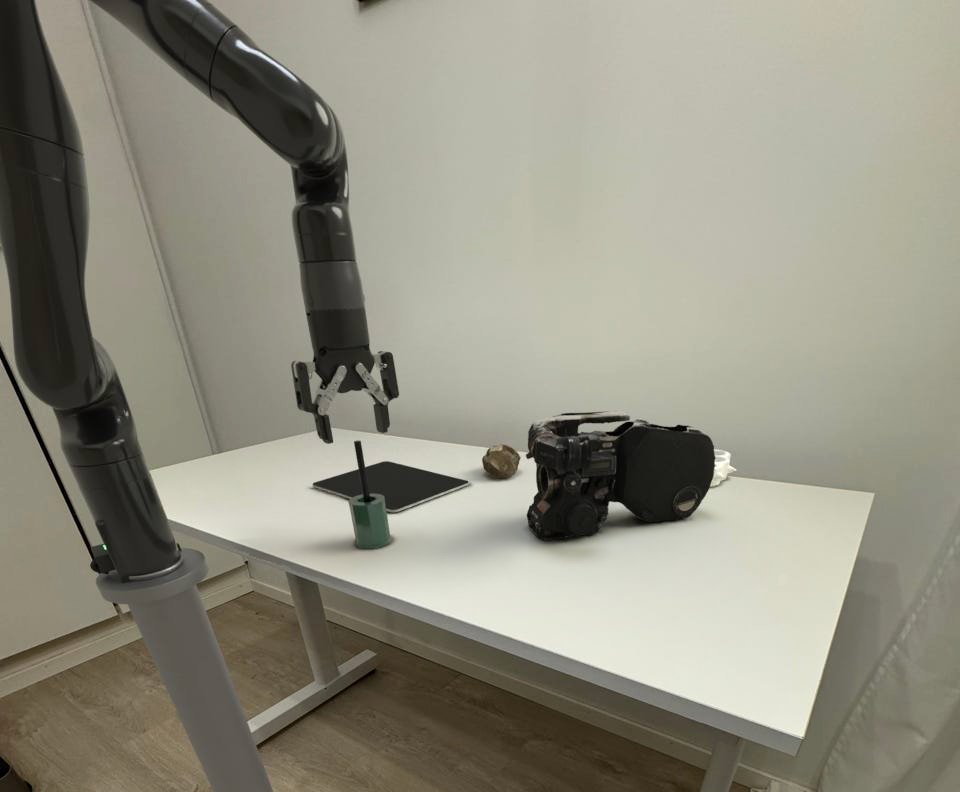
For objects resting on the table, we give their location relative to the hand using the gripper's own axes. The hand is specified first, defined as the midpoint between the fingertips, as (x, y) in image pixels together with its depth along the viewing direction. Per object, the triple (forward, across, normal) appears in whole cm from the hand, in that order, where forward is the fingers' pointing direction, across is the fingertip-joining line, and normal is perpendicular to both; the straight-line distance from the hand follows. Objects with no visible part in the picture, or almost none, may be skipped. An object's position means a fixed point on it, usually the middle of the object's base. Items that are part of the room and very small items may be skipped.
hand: (355, 437), depth 79 cm
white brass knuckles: (+16, -61, +15) cm, 65 cm away
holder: (+16, 0, 0) cm, 16 cm away
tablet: (+16, -16, -24) cm, 33 cm away
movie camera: (+16, -31, +21) cm, 41 cm away
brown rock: (+16, -37, -14) cm, 43 cm away
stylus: (+16, 0, 0) cm, 16 cm away
